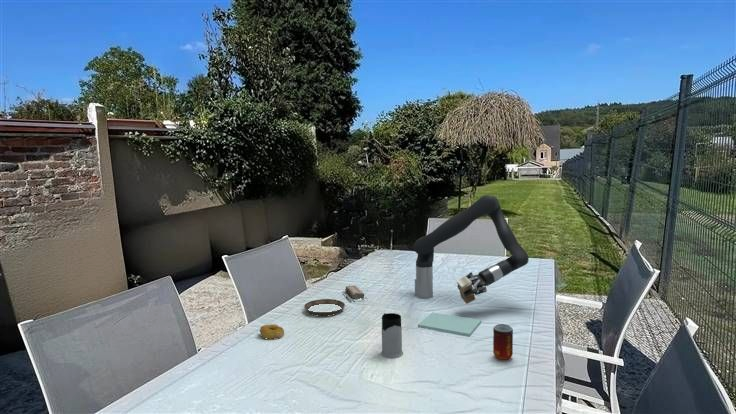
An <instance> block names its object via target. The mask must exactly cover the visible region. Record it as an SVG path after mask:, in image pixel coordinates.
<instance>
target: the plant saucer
mask: <svg viewBox="0 0 736 414" xmlns="http://www.w3.org/2000/svg"><path fill="white" fill-rule="evenodd" d="M319 304H335V305H338V306H340V307H341V308H342V309H340V310H337V311H332V312H313V311H309V310H308V309H309V308H310V307H311V306H314V305H319ZM345 306H346V304H345V303H344V302H343V301H341V300H337V299H334V298H321V299H320V298H319V299H314V300H311V301H310V300H309V301H308V302H306V303H305V304H304V307H303V308H304V309H305V310H306V312H307V313H309V314H310V315H312V314H313V315H312V316H314V315H318V316H317V317H329V316H328V315H332V316H334V315H333V314H335V315H337V313H338V314H340V313H341V312H342V311H343V310H344V308H345Z"/></svg>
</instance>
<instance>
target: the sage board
mask: <svg viewBox="0 0 736 414" xmlns="http://www.w3.org/2000/svg"><path fill="white" fill-rule="evenodd" d="M481 324H482V319H476V318H471V317H470V318H469V317H463V316H457V315H450V314H445V313H439V312H433V311H432V312H431V313H430V314H429V315H427V316H426V317H425V318H423V320H421V321H420V322H419V323H418V324H417V328H420V327H422V328H421V329H426V328H427V329H428V330H431V329H433V331H437V332H443V333H448V334H453V335H460V336H466V337H471V336H472V334H473V333H474V332H475V331H476V330H477V329H478V328H479V326H480V325H481Z"/></svg>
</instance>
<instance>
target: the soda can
mask: <svg viewBox="0 0 736 414" xmlns="http://www.w3.org/2000/svg"><path fill="white" fill-rule="evenodd" d="M492 329H493V330H492V331H493V337H492V341H493V342H492V344H493V347H492V348H493V349H492V350H493V351H492V352H493V355H494V357H495V359H496V360H498V361H501V362H508V361H510V360H512V359H511V358H512V356H513V355H514V354H513V353H514V352H513V351H514V350H513V349H514V348H513V345H514V344H513V342H514V339H513V338H514V329H513V327H511V326H510V325H508V324H504V323H500V324H499V323H498V324H496V325H494V326H493V328H492Z"/></svg>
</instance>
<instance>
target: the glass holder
mask: <svg viewBox="0 0 736 414" xmlns="http://www.w3.org/2000/svg"><path fill="white" fill-rule="evenodd" d="M402 331H403V327H402V316H401V314H399V313H396V312H395V313H394V312H392V313H391V312H389V313H386V312H384V313H383V314H382V316H381V352H380V355H381V356H382V357H384V358H386V359H398V358H400V357H402V356H403V355H404V352H403V334H402Z"/></svg>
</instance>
